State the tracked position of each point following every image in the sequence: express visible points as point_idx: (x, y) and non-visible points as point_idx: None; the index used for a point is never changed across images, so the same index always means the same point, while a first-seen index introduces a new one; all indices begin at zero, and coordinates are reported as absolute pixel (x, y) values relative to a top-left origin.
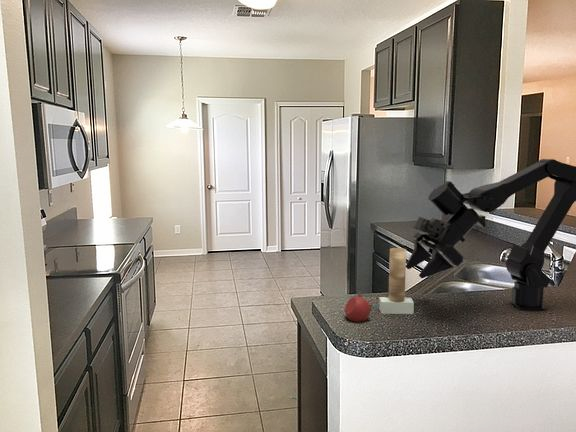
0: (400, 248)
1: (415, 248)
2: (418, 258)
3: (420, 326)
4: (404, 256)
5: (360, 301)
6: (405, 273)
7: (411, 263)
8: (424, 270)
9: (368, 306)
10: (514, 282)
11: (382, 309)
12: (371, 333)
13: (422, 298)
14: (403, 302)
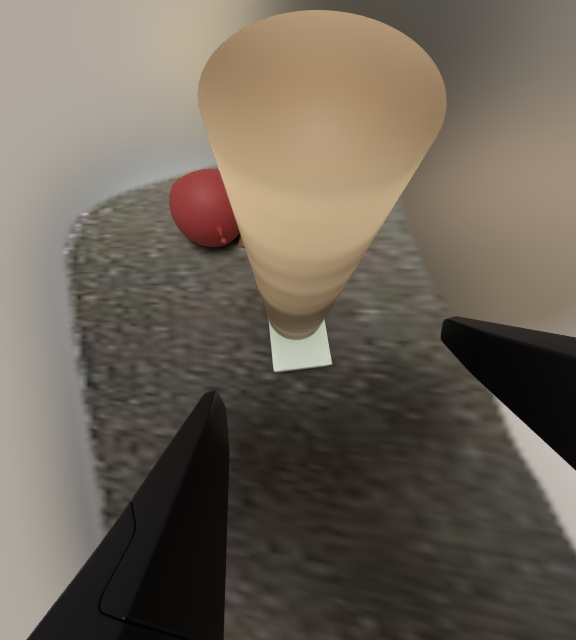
0: (406, 114)
1: None
2: (572, 419)
3: (171, 385)
4: (251, 226)
5: (175, 192)
6: (294, 310)
7: (483, 352)
8: (177, 438)
9: (187, 226)
10: None
11: None
12: (118, 260)
13: (458, 417)
14: (270, 334)
